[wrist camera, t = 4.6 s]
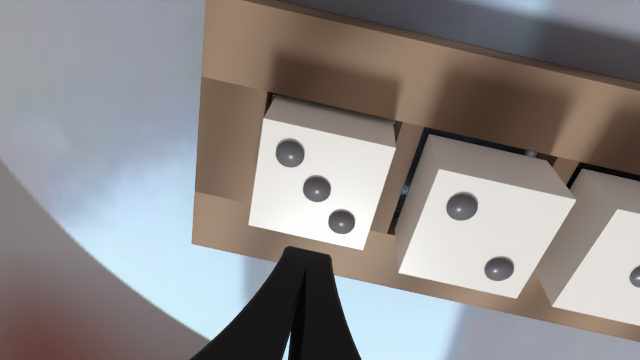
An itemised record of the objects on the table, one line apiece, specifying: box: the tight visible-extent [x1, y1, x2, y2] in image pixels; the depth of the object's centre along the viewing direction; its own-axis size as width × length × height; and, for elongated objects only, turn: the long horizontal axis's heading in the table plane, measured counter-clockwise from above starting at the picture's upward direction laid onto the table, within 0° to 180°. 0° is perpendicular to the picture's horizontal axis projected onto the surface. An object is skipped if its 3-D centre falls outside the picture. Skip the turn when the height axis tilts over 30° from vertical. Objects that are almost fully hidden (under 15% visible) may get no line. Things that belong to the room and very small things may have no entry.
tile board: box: [192, 0, 640, 342], centre depth 20 cm, size 24×12×2 cm, turn 79°
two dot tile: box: [395, 134, 576, 299], centre depth 18 cm, size 5×5×3 cm
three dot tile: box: [248, 94, 396, 250], centre depth 19 cm, size 5×5×3 cm
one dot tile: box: [534, 169, 640, 326], centre depth 18 cm, size 5×5×3 cm
